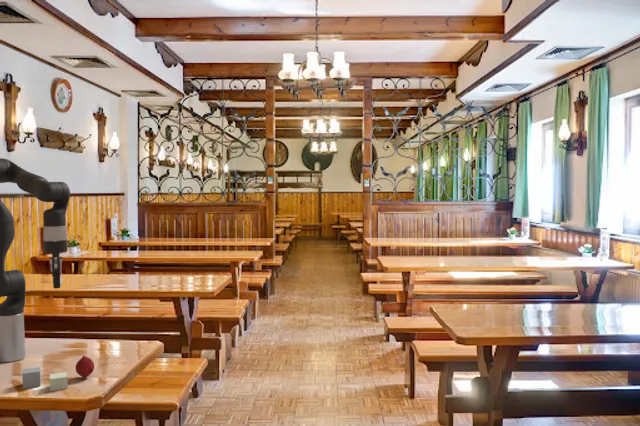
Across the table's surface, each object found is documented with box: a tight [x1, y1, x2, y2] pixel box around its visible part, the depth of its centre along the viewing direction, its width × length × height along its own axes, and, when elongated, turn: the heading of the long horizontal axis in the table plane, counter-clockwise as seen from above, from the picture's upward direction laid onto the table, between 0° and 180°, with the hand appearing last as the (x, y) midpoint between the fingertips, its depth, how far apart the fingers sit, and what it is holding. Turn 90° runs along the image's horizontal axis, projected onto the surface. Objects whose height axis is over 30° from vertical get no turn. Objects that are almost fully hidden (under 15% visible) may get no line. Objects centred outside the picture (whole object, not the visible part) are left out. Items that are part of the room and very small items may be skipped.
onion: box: [75, 354, 95, 379], centre depth 189 cm, size 6×6×8 cm
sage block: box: [49, 371, 68, 392], centre depth 181 cm, size 5×5×4 cm
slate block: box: [21, 366, 42, 390], centre depth 183 cm, size 5×5×5 cm
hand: (56, 287), depth 197 cm, fingers closed
